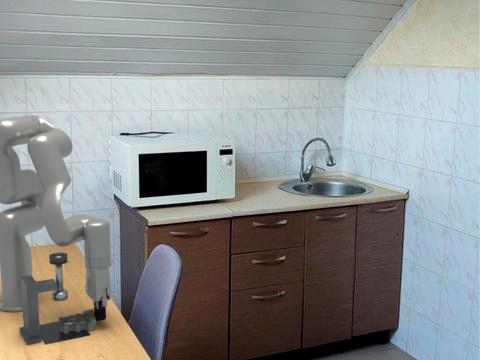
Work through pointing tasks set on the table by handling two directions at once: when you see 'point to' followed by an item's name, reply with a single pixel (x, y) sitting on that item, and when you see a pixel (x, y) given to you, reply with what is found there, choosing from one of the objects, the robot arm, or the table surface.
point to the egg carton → (77, 322)
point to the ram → (59, 275)
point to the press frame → (31, 315)
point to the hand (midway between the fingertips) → (100, 319)
